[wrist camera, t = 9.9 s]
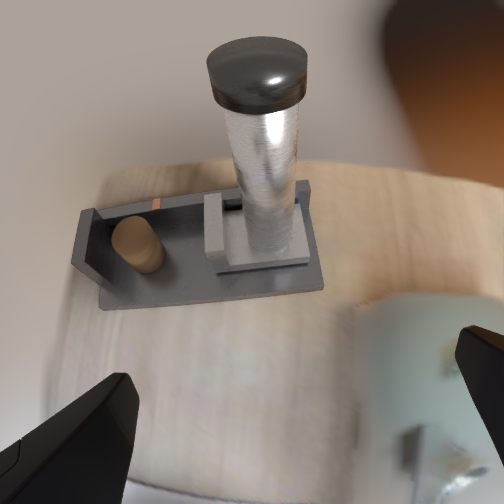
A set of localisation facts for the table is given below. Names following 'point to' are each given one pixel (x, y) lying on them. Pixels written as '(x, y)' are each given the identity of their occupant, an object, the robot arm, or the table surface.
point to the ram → (258, 154)
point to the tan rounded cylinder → (138, 244)
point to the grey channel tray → (183, 256)
